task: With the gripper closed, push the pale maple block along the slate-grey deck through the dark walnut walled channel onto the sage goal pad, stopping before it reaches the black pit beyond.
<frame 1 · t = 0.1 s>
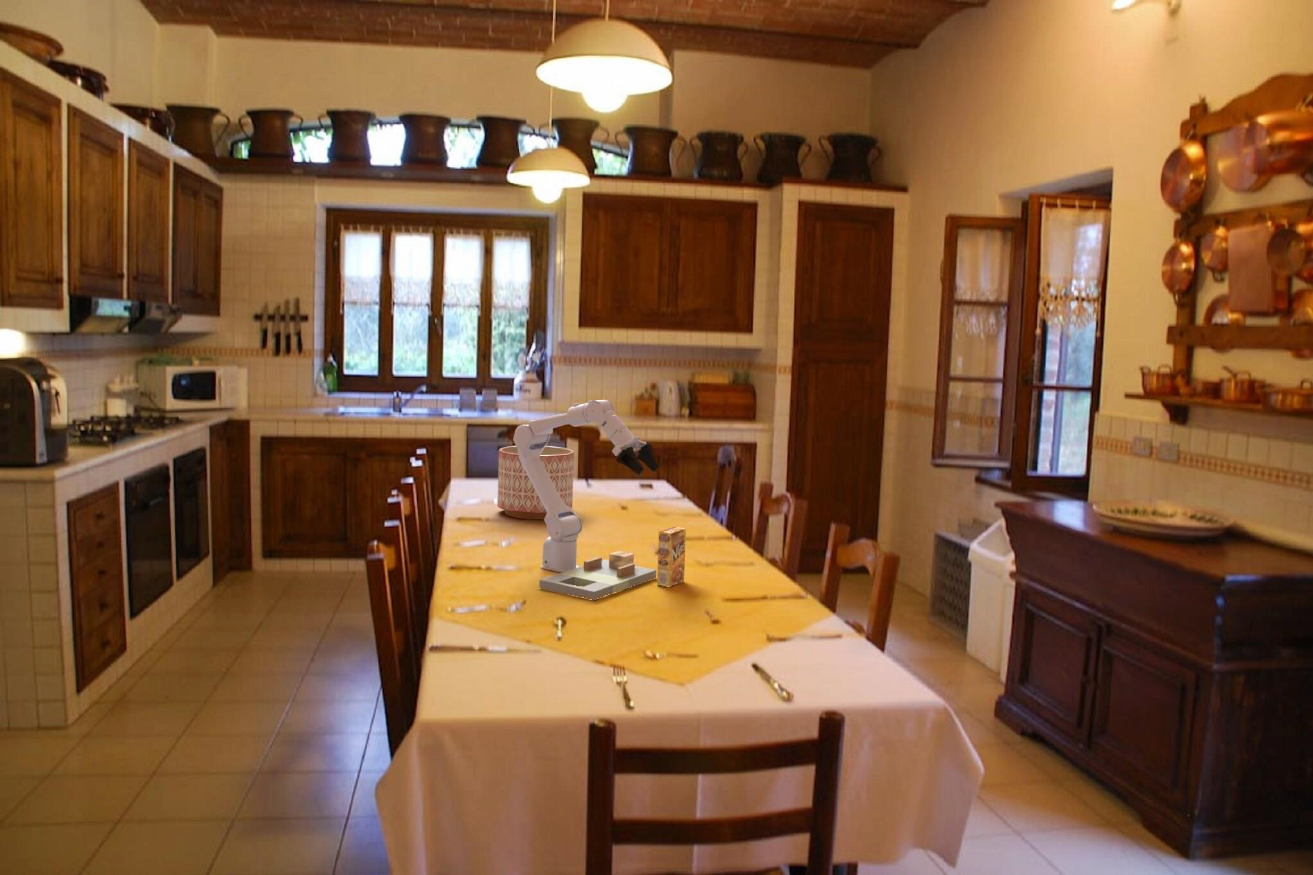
hand: (649, 470, 268), 32 cm above the table, tool tilted 50°, fingers open, 7 cm apart
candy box: (670, 584, 276), on the table
tunnel deck: (599, 583, 273), on the table
planter: (534, 514, 366), on the table
maple block: (621, 567, 281), point 2 cm above the table, touching tunnel deck
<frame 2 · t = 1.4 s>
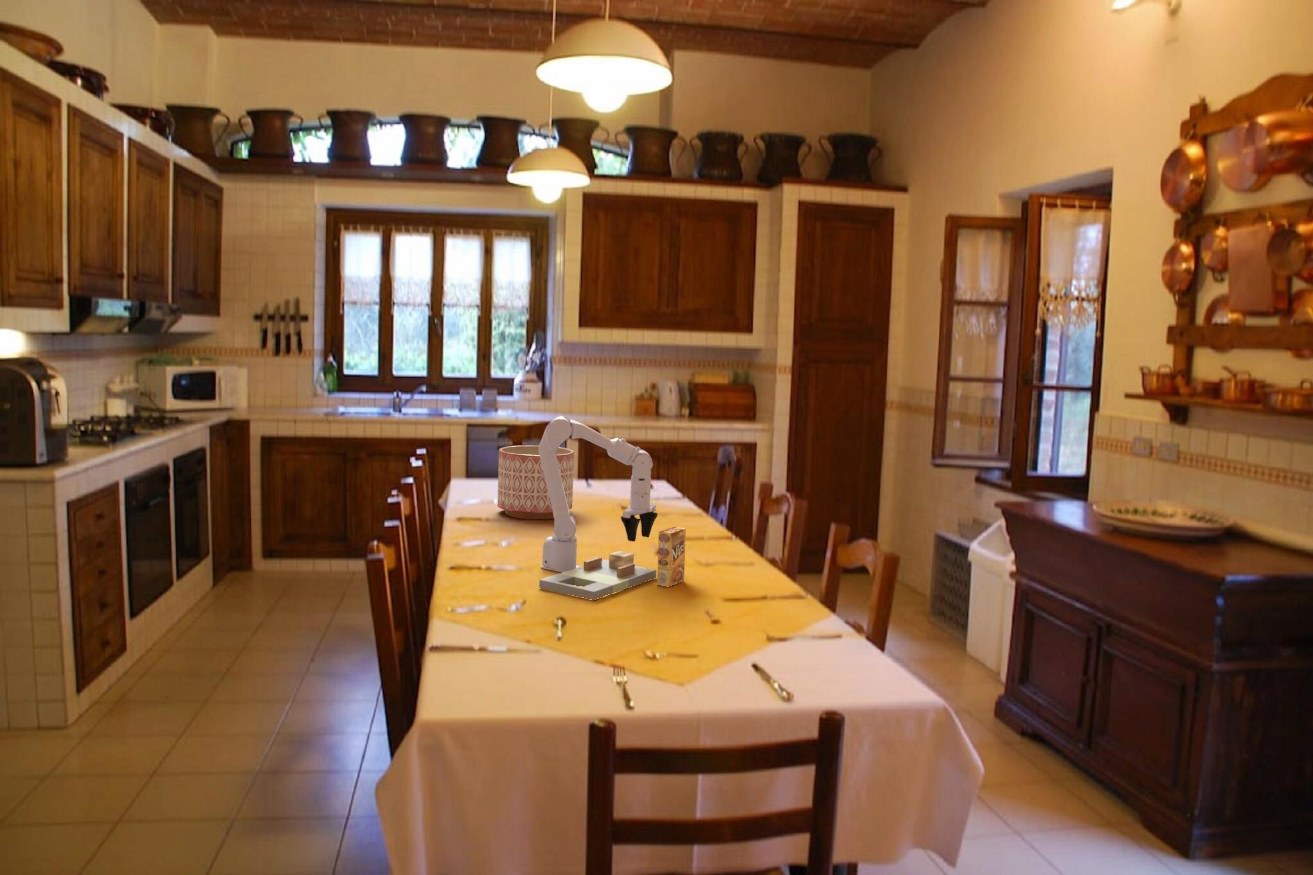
hand: (638, 538, 287), 9 cm above the table, tool pointing down, fingers open, 7 cm apart
nothing on the table moved.
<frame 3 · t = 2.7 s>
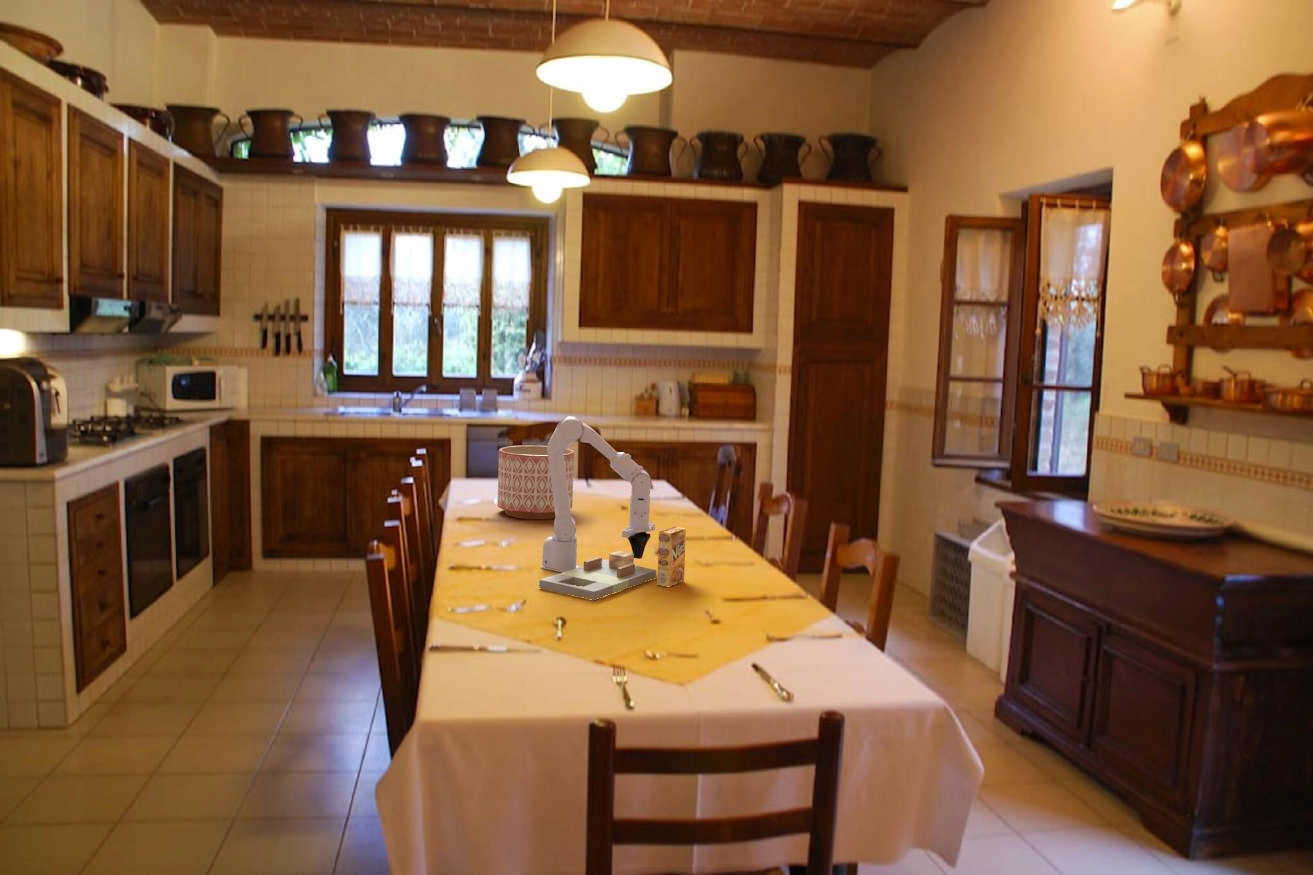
hand: (637, 558, 288), 4 cm above the table, tool pointing down, fingers closed
nothing on the table moved.
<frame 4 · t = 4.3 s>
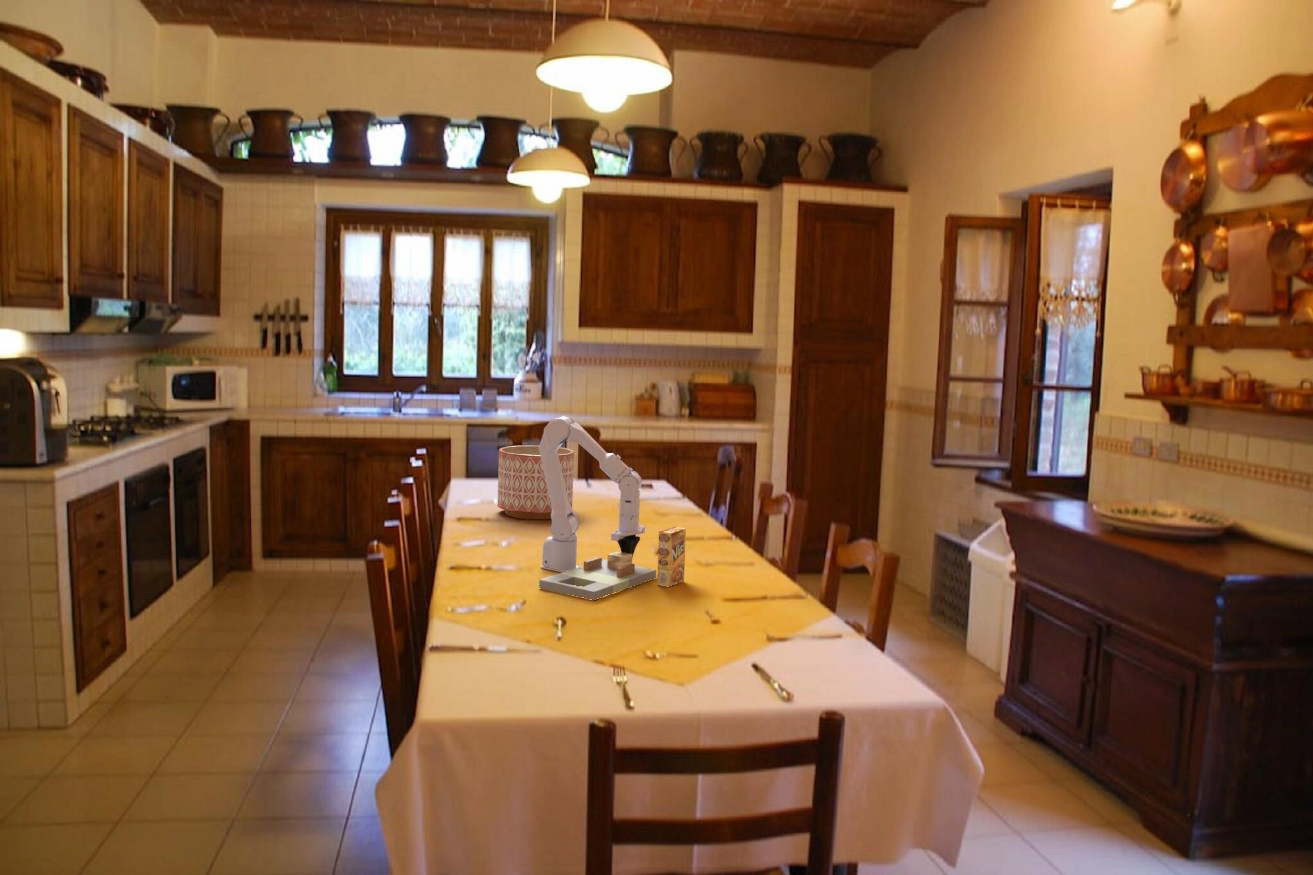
hand: (627, 561, 284), 4 cm above the table, tool pointing down, fingers closed
maple block: (619, 568, 280), point 3 cm above the table, touching gripper
everything else where it was.
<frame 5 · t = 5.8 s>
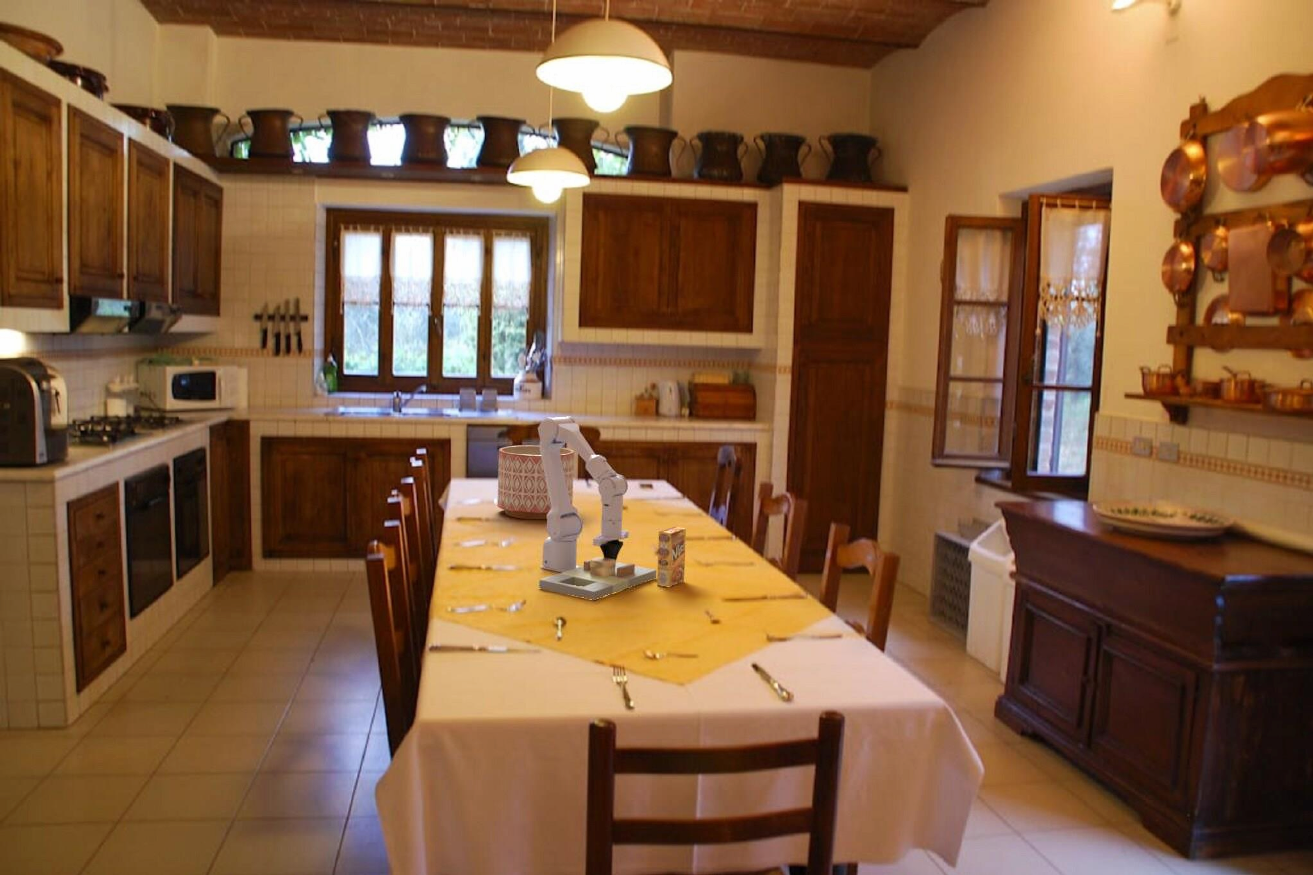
hand: (610, 566, 276), 4 cm above the table, tool pointing down, fingers closed
maple block: (602, 574, 273), point 3 cm above the table, touching gripper, tunnel deck
everything else where it was.
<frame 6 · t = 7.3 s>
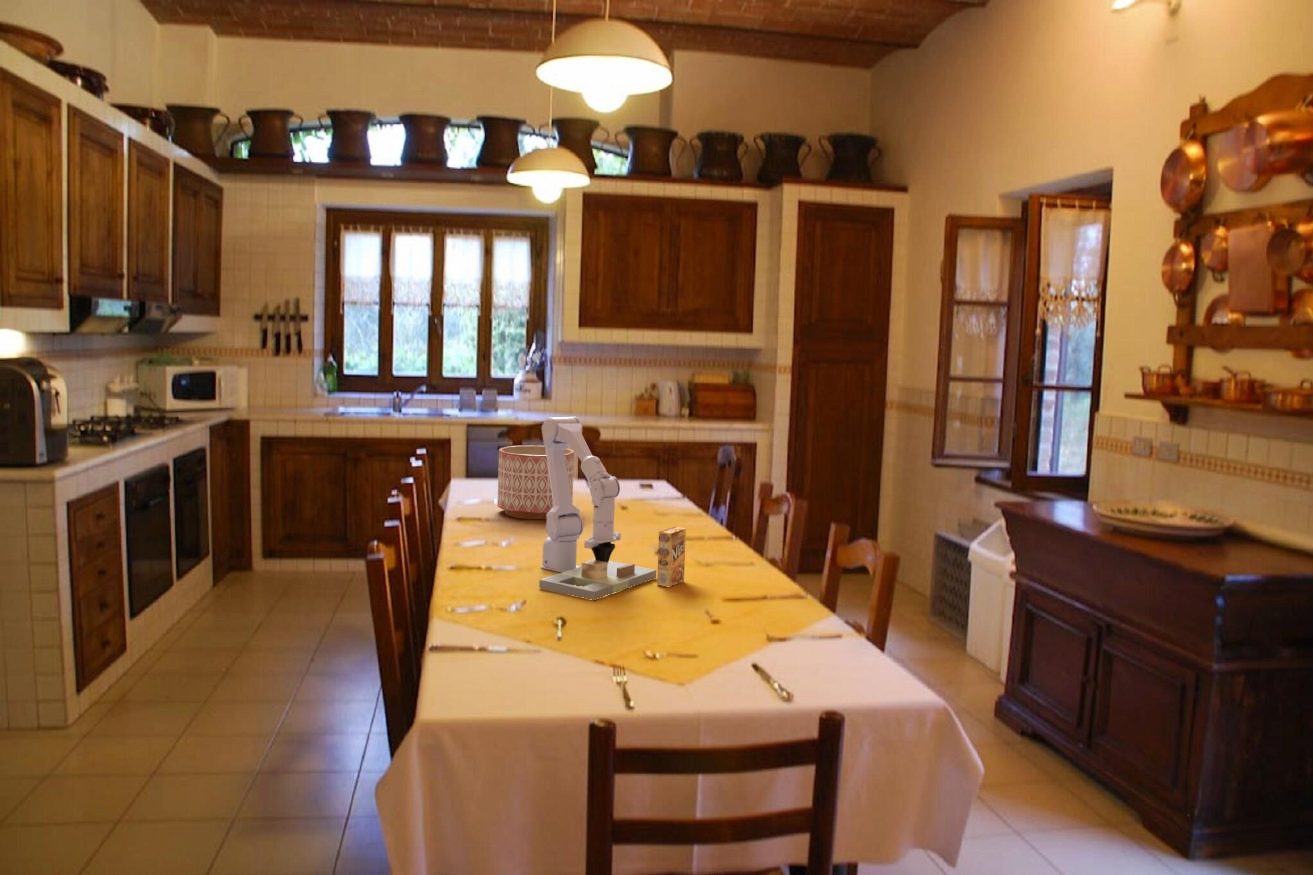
hand: (601, 569, 273), 4 cm above the table, tool pointing down, fingers closed
maple block: (594, 576, 270), point 2 cm above the table, touching gripper, tunnel deck
everything else where it was.
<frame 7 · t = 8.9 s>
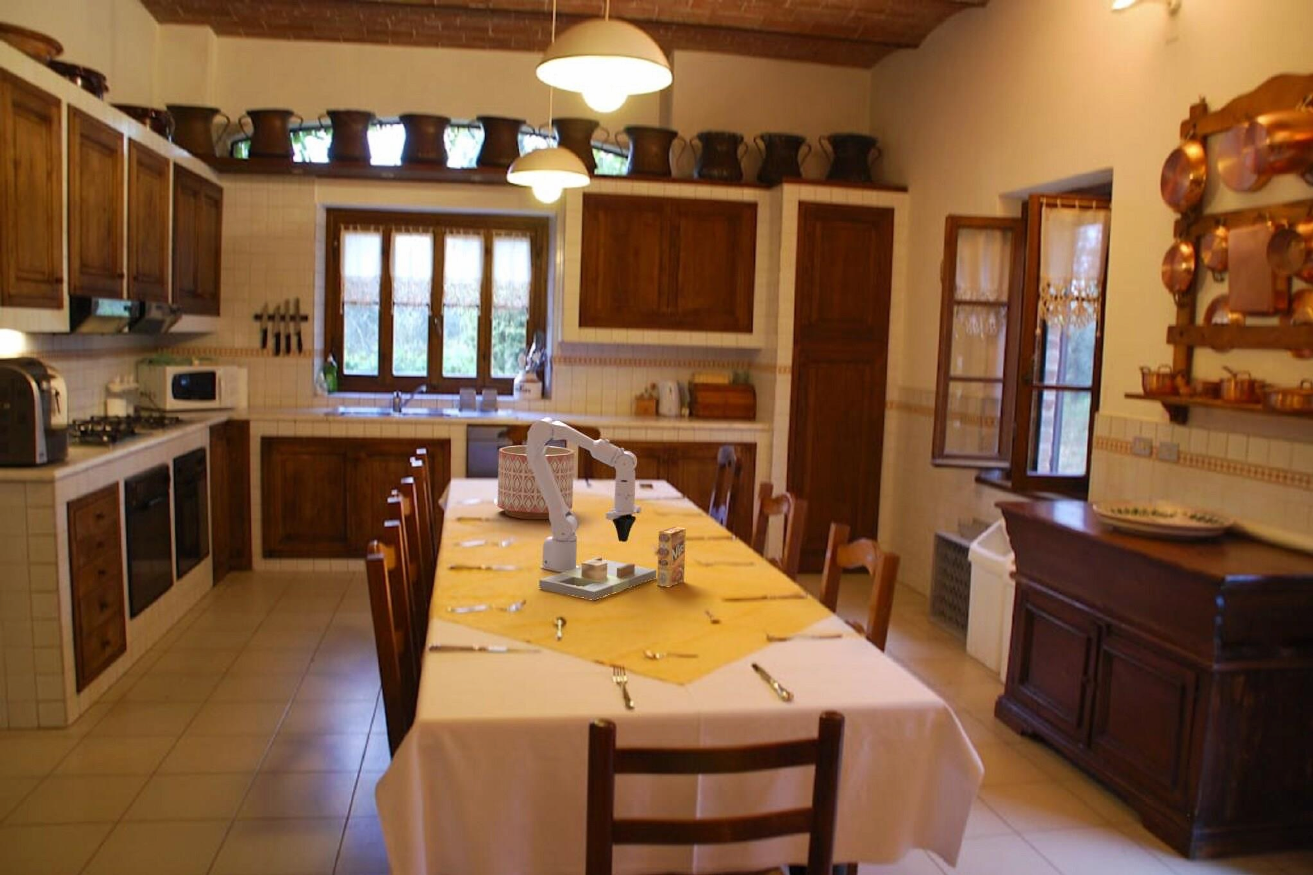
hand: (622, 541, 284), 9 cm above the table, tool pointing down, fingers closed
maple block: (594, 576, 270), point 2 cm above the table, touching tunnel deck
everything else where it was.
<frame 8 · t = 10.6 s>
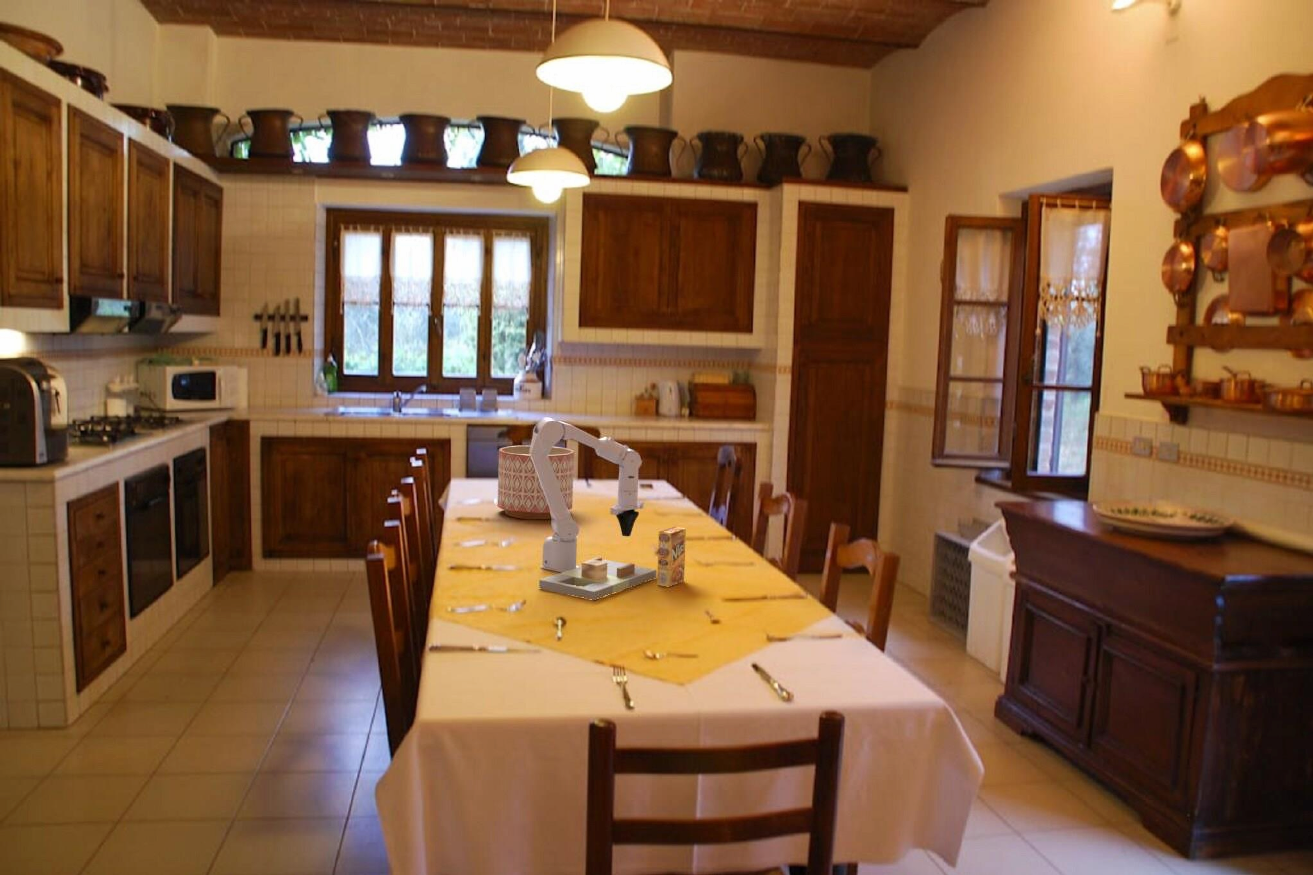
hand: (626, 535, 291), 9 cm above the table, tool pointing down, fingers closed
nothing on the table moved.
at the end: maple block 0.5 cm from the target spot, point 2.5 cm above the table; maple block tilted 0°; maple block moved 13.4 cm from its start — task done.
